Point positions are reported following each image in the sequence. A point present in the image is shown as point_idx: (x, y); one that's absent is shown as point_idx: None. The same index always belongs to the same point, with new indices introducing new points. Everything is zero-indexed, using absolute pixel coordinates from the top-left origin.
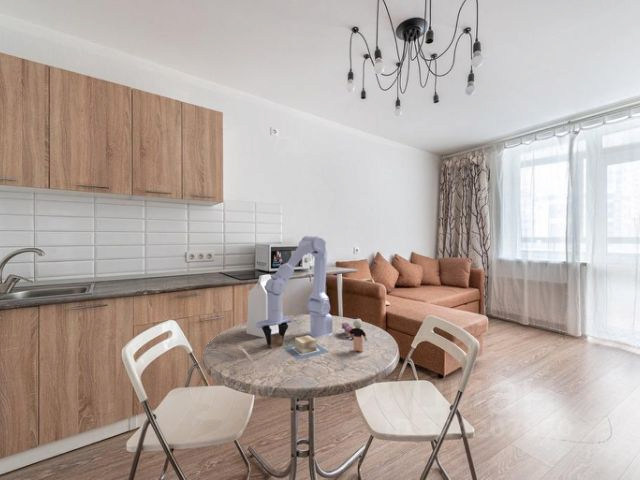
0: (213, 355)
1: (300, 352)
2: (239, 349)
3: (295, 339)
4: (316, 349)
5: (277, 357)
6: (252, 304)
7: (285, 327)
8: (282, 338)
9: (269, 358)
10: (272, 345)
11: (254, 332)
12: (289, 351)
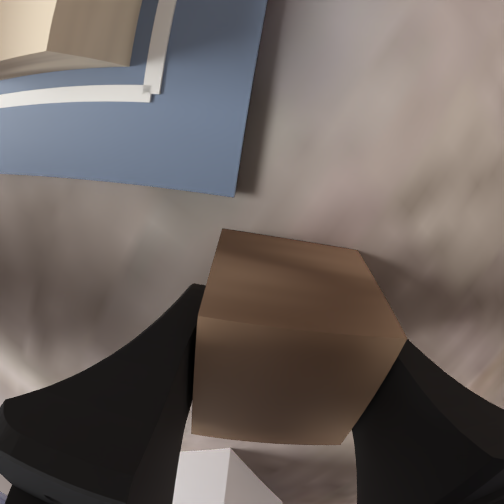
0: None
1: None
2: (475, 382)
3: (62, 35)
4: None
5: (425, 38)
6: None
7: (62, 436)
8: (185, 309)
9: (486, 88)
10: (361, 272)
11: (264, 498)
12: (248, 20)
